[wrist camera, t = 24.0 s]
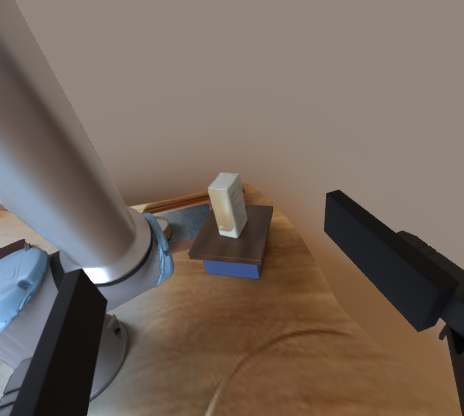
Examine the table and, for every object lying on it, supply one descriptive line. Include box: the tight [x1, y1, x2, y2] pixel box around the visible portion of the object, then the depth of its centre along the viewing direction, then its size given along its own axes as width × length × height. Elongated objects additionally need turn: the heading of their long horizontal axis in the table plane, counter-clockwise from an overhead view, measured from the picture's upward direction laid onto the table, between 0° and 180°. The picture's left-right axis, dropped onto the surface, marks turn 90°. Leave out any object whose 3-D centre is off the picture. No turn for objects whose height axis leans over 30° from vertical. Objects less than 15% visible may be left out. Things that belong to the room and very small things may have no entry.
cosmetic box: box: [208, 173, 247, 238], centre depth 50 cm, size 6×4×12 cm
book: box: [0, 239, 30, 260], centre depth 67 cm, size 12×19×3 cm, turn 35°
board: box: [188, 205, 273, 265], centre depth 54 cm, size 15×17×2 cm
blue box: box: [203, 237, 268, 279], centre depth 57 cm, size 12×13×7 cm
